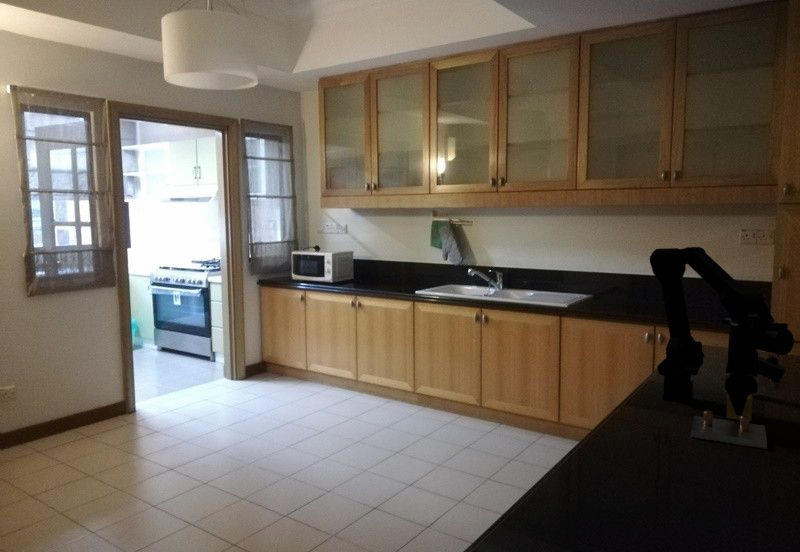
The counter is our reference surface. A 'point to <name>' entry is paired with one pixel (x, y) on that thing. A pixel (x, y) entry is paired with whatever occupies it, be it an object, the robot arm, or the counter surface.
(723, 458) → the counter surface
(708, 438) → the plate
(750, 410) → the tan cardboard box
